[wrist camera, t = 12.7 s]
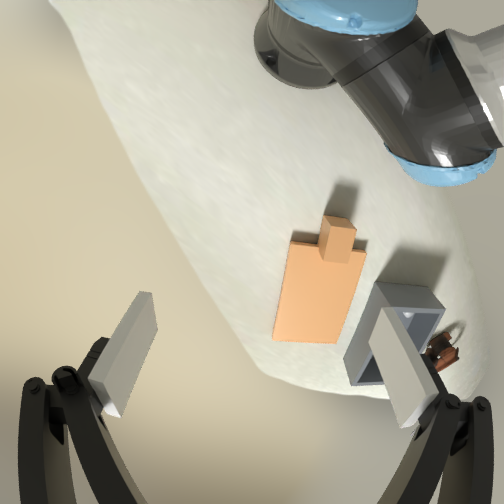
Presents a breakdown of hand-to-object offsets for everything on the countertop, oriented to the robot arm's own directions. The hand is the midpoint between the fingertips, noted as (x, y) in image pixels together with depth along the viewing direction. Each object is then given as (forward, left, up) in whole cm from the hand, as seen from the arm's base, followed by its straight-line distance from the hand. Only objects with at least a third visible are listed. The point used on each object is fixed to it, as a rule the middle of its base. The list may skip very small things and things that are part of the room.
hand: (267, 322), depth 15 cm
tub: (+22, +29, -30) cm, 47 cm away
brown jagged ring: (+29, +48, -30) cm, 64 cm away
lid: (+14, +12, -30) cm, 35 cm away
